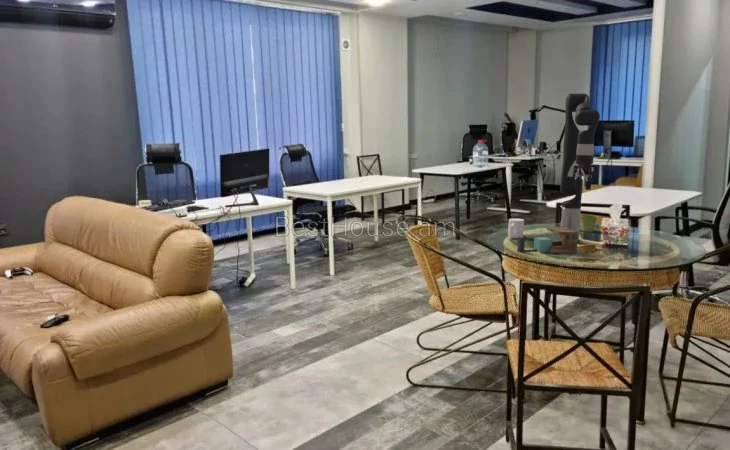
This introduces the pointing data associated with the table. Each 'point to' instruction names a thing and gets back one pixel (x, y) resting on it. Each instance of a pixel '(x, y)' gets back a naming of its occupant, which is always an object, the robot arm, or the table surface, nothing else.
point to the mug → (515, 228)
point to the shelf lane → (564, 240)
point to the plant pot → (588, 222)
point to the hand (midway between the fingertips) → (582, 188)
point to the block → (535, 244)
